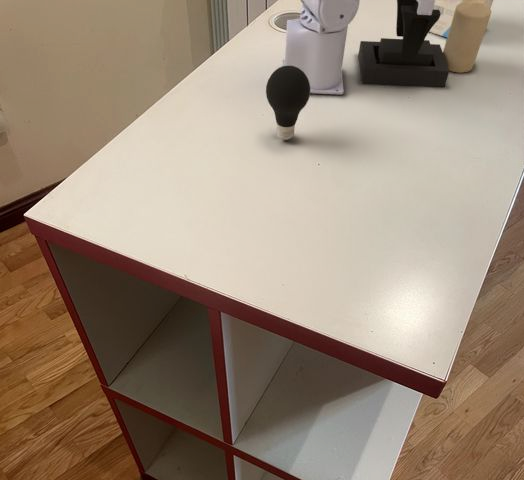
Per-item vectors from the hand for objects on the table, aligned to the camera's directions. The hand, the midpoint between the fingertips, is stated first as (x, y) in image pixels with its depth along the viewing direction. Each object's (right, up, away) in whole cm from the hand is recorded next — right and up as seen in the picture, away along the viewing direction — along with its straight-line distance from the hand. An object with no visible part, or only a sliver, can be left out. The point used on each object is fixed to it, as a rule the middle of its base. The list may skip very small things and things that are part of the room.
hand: (405, 46), depth 83 cm
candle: (+10, 0, +5) cm, 11 cm away
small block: (0, -2, +3) cm, 4 cm away
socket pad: (0, -2, +3) cm, 4 cm away
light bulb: (-20, -19, -9) cm, 29 cm away
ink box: (+13, +11, +13) cm, 21 cm away
